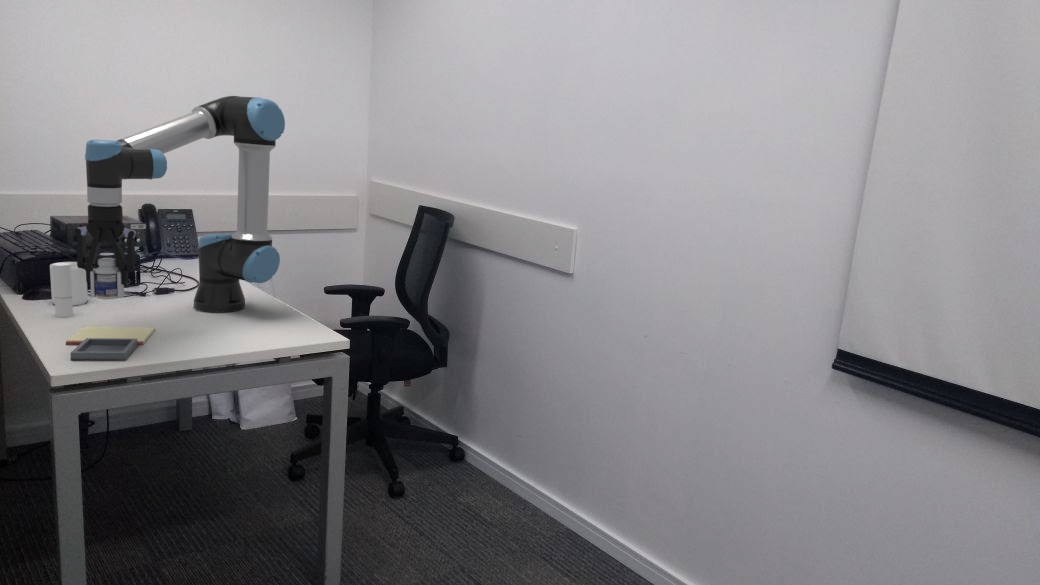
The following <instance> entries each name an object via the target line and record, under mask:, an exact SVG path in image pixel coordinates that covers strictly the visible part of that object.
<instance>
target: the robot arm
mask: <svg viewBox="0 0 1040 585" xmlns="http://www.w3.org/2000/svg"><path fill="white" fill-rule="evenodd" d="M285 129H286V121H285V114H284V113H283V110H282V109H281V108H280V107H279V104H277V103H276V102H275V101H273V100H271V99H269V98H265V97H264V98H263V97H259V96H258V97H252V96H239V95H227V96H224V97H219V98H217V99H213V100H211V101H208V102H206V103H203V104H200V105H198V106H195V107H193V109H192V110H191V112H190V113H187V114H184V115H182V116H179V117H177V118H174V119H171V120H168V121H165V122H163V123H161V124H158V125H154V126H152V127H150V128H147V129H144V130H142V131H138V132H137V133H134V134H131V135H127V136H125V137H123V138H120V139H118V140H113V139H112V140H111V139H110V140H109V139H89V140H88V141H87V142H86V144H85V154H84V161H85V167H86V168H85V170H86V171H85V172H86V194H87V195H86V197H87V198H86V200H87V202H88V205H87V224H86V226H82V227H81V226H79V227H76V228H75V229H74V234H75V237H76V262H77V267H78V268H82V269H84V270H85V271H86V282H87V284H90V297H91V298H97V297H96V287H95V266H96V265H95V264H96V260H97V259H98V258H97V257H98V255H99V250H100V247H101V244H102V243H103V242H106V243H110V245H111V247H112V249H113V252H114V255H115V259H116V263H117V265H118V267H119V268H118V269H119V272H117V287H118V298H117V299H122V298H124V296H125V286H126V285H127V284H128V282H129V271H133V270H134V269H136V267H137V263H136V262H137V261H136V248H135V247H136V244H135V238H136V235H137V230H136V229H130V228H126V226H125V225H124V222H123V220H124V217H123V215H124V214H123V206H122V205H121V204H122V203H123V184H122V183H123V181H122V180H155V179H161V178H163V177H164V176H165V175H166V173H167V170H168V160H167V157H166V156H165V154H166V153H170V152H171V151H174V150H177V149H179V148H182V147H183V146H186V145H189V144H191V143H194V142H196V141H199V140H201V139H208V140H211V139H214V138H216V137H220V136H231V137H233V144H234V145H235V146H236V147H237V148H238V171H237V172H238V175H237V176H238V177H237V178H238V180H237V181H238V182H237V209H236V210H237V218H236V219H237V220H236V231H235V232H227V233H226V232H225V233H214V234H213V233H211V234H205V235H202V236H200V238H199V239H198V247H197V249H198V273H199V283H198V287H197V288H196V289H197V290H196V293H195V295H194V299H193V308H194V309H195V310H197V311H199V312H200V311H201V312H206V313H229V312H230V313H231V312H236V311H240V310H243V309H244V308H246V297H245V295H244V292H243V289H242V286H241V283H240V280H241V281H245V282H247V283H251V284H252V283H255V284H263V283H266V282H268V281H270V280H271V279H273V277H274V276H275V275H276V273H277V272H278V269H279V267H280V263H281V256H280V254H279V252H278V249H277V248H275V247H274V246H273V237H272V236H271V235H270V234H269V233H268V223H269V221H268V219H269V194H270V193H269V191H270V190H269V188H270V187H269V186H270V163H271V162H270V160H271V159H270V157H271V151H273V150H274V149H275V148H276V140H278V139H280V138H281V137H282V134H284V132H285ZM88 233H89V234H90V236H92V240H91V241H92V242H91V246H90V250H89V254H88V258H87V256H86V255H87V254H86V253H87V251H86V250H87V249H86V248H87V246H86V245H87V244H86V243H87V237H86V236H87V234H88ZM123 234H124V237H125V238H126V257H127V260H126V257H125V255H124V251H123V248H122V245H121V244H122V243H121V240H120V237H121V235H123ZM86 259H87V260H86Z"/></svg>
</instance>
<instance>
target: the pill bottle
mask: <svg viewBox="0 0 1040 585" xmlns="http://www.w3.org/2000/svg"><path fill="white" fill-rule="evenodd" d="M116 265H117V259H116V258H113V257H102V258H97V266H98V267H95V268H94V270H95V287H96V297H95V298H97V299H99V300H113V299H119V298H118V287H117V272H119V271H120V268H118V267H117V266H116Z"/></svg>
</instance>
